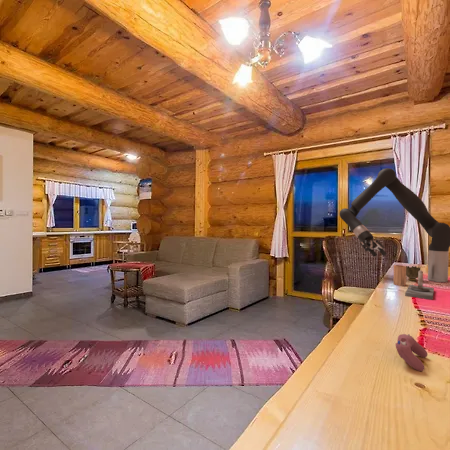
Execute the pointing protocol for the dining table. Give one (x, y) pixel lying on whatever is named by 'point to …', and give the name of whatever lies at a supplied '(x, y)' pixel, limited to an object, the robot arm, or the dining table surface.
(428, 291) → the shaft stand
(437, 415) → the dining table surface
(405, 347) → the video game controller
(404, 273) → the copper collar
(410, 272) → the bronze rounded piece
